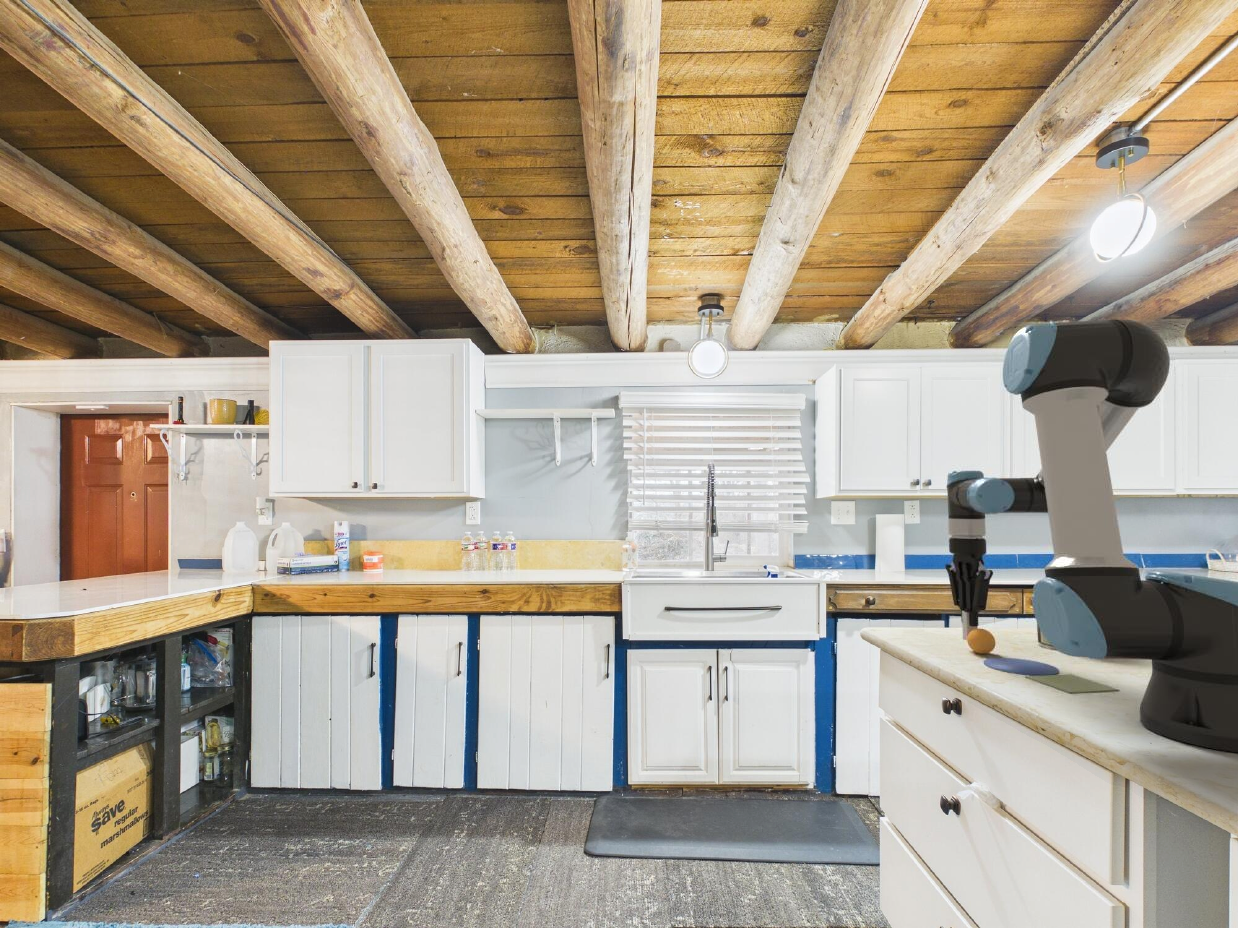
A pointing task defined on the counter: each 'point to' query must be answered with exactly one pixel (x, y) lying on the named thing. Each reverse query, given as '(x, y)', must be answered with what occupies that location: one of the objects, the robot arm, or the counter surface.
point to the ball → (981, 641)
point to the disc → (1021, 666)
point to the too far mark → (1071, 683)
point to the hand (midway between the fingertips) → (970, 639)
